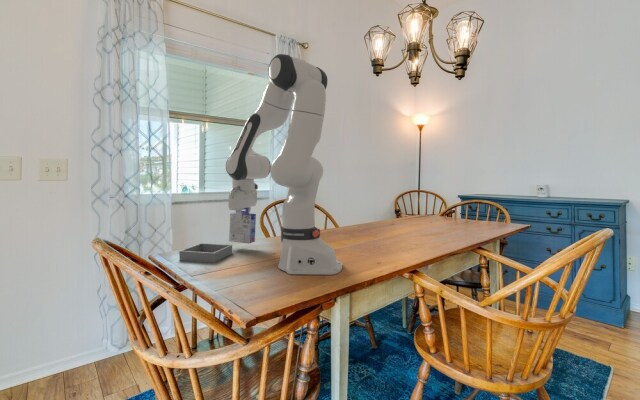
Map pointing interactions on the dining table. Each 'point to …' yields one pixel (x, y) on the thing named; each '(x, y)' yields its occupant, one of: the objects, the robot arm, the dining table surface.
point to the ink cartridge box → (242, 227)
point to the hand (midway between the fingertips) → (243, 218)
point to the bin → (205, 252)
